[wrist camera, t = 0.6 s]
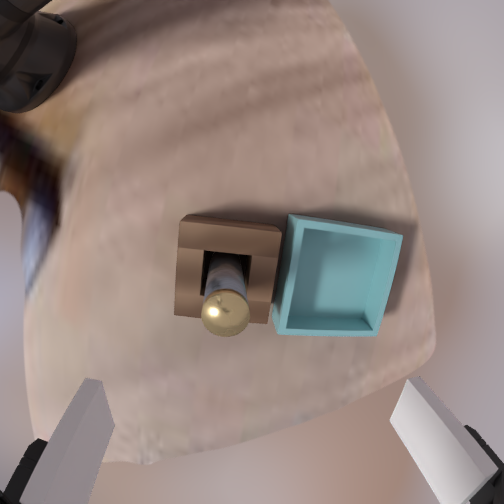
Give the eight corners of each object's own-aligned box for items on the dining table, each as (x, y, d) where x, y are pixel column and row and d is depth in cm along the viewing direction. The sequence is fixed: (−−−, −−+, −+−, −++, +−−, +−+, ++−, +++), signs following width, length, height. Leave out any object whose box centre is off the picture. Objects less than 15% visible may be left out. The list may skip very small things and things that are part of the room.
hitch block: (186, 214, 33) (179, 221, 28) (273, 224, 34) (282, 232, 29) (180, 296, 35) (174, 315, 30) (261, 305, 36) (267, 323, 31)
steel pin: (212, 245, 34) (203, 291, 20) (242, 249, 34) (253, 296, 21) (209, 274, 34) (199, 334, 21) (238, 277, 35) (246, 338, 21)
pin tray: (288, 213, 34) (297, 218, 29) (384, 228, 35) (403, 235, 31) (271, 316, 37) (277, 334, 32) (362, 320, 38) (376, 336, 34)
